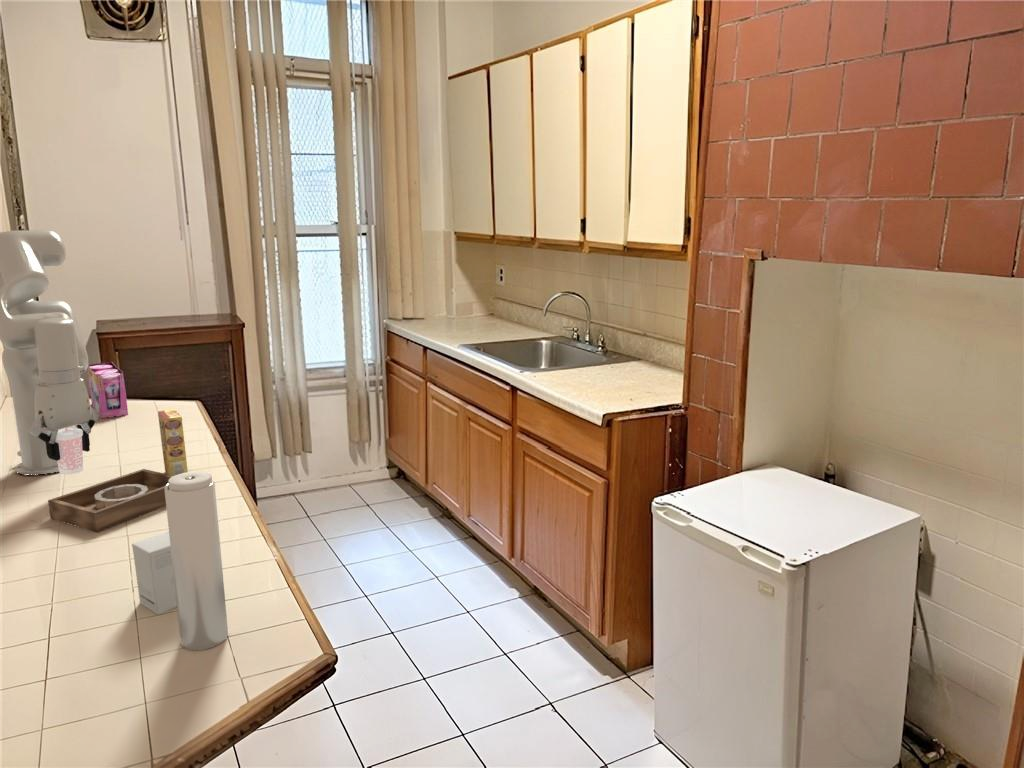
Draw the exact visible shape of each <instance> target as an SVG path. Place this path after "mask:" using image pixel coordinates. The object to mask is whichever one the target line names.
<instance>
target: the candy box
mask: <svg viewBox="0 0 1024 768" xmlns="http://www.w3.org/2000/svg"><path fill="white" fill-rule="evenodd" d="M157 417H158V424H159V425H158V426H159V431H160V432H159V433H160V440H161V441H160V442H161V448H162V456H163V464H164V472H165V474H168V475H173V476H175V475H178V474H182V473H186V472H189V470H188V463H187V452H186V445H185V435H184V434H185V433H184V427H183V417H182V416H181V414H180V413H179V412H178V410H176V409H175V408H173V409H166V410H159V411H157Z"/></svg>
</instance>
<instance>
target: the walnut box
mask: <svg viewBox="0 0 1024 768" xmlns="http://www.w3.org/2000/svg"><path fill="white" fill-rule="evenodd" d="M171 477H173V475H168V474H166V473H163V472H158V471H154V470H150V469H145V468H142V469H139V470H136V471H133V472H130V473H127V474H123V475H121V476H120V475H119V476H117V477H115V478H112V479H108V480H105V481H103V482H100V483H96V484H94V485H91V486H87V487H83V488H81V489H79V490H75V491H72V492H69V493H66V494H62V495H60V496H57V497H53V498H51V499H48V500H47V502H48V503H47V504H48V512H49V517H50V519H51V520H53V521H54V520H55V521H57V520H58V522H60V521H61V523H64V522H65V523H64V524H67V523H69V524H68V525H70V524H72V525H71V526H74V525H76V526H75V527H77V526H79V527H78V528H81V529H84V528H85V529H84V530H87V529H88V530H87V531H91V532H94V533H99V532H102V531H105V530H107V529H110V528H112V527H116V526H117V525H120V524H124V523H125V522H128V521H130V520H133V519H135V518H138V517H141V516H143V515H146V514H149V513H151V512H154V511H156V510H159V509H162V508H164V507H166V499H165V489H164V487H165V486H166V485H167V484H168V483H169V482H168V480H169V479H170V478H171ZM126 484H140V485H144V486H147V488H148V492H147V493H144V494H141V495H139V496H136V497H133V498H130V499H128V500H125V501H122V502H119V503H117V504H114V505H111V506H108V507H105V508H103V509H100V510H97V509H96V504H95V496H94V495H95V494H97V493H98V492H99V491H101V490H104V489H107V488H110V487H113V486H119V485H126ZM124 498H126V497H124ZM118 499H120V498H118Z"/></svg>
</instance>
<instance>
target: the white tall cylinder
mask: <svg viewBox="0 0 1024 768" xmlns="http://www.w3.org/2000/svg"><path fill="white" fill-rule="evenodd" d="M168 482H169V483H168V484H167V485H166V486H165V487H164V489H165V499H166V506H165V508H166V515H167V516H166V517H167V523H168V524H167V525H168V532H169V537H170V546H171V555H172V565H173V574H174V584H175V593H176V603H177V607H176V610H177V620H178V629H179V641H180V645H181V647H182V648H183V649H186V650H188V651H189V650H190V651H205V650H208V649H212V648H214V647H217V646H218V645H220V644H222V643H223V642H224V641H225V640H226V639H227V638H228V636H229V627H228V618H227V617H228V616H227V615H228V614H227V606H226V605H227V604H226V595H225V583H224V573H223V562H222V550H221V549H222V548H221V539H220V529H219V518H218V505H217V495H216V484H215V481H213V476H212V473H209V472H207V471H188V472H186V473H182V474H178V475H175V476H173V477H171V478H170V479H169V480H168Z"/></svg>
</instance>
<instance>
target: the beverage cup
mask: <svg viewBox="0 0 1024 768" xmlns="http://www.w3.org/2000/svg"><path fill="white" fill-rule="evenodd" d="M82 435H83V430H82V429H78V428H77V427H67V428H64V429H61V430H58V433H57V437H56V441H55V442H57V443H58V444H59V451H60V460H58V461H57V462H58V467H59V472H58V473H59V474H61V475H74V474H78V473H81V472H83V470H84V456H83V454H84V451H83V450H82Z"/></svg>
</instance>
